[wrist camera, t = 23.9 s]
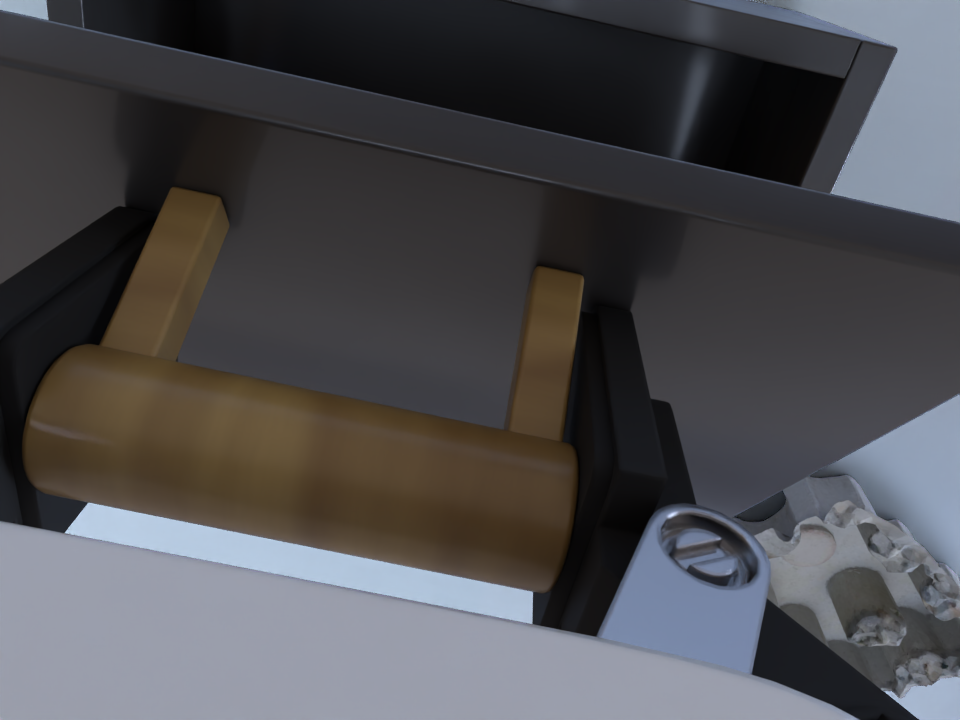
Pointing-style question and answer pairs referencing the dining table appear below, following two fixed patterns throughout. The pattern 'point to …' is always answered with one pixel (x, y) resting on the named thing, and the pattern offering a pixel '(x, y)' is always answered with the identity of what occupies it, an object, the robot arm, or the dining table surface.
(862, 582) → the grey rock
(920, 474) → the dining table surface
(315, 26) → the chest
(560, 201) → the lid
